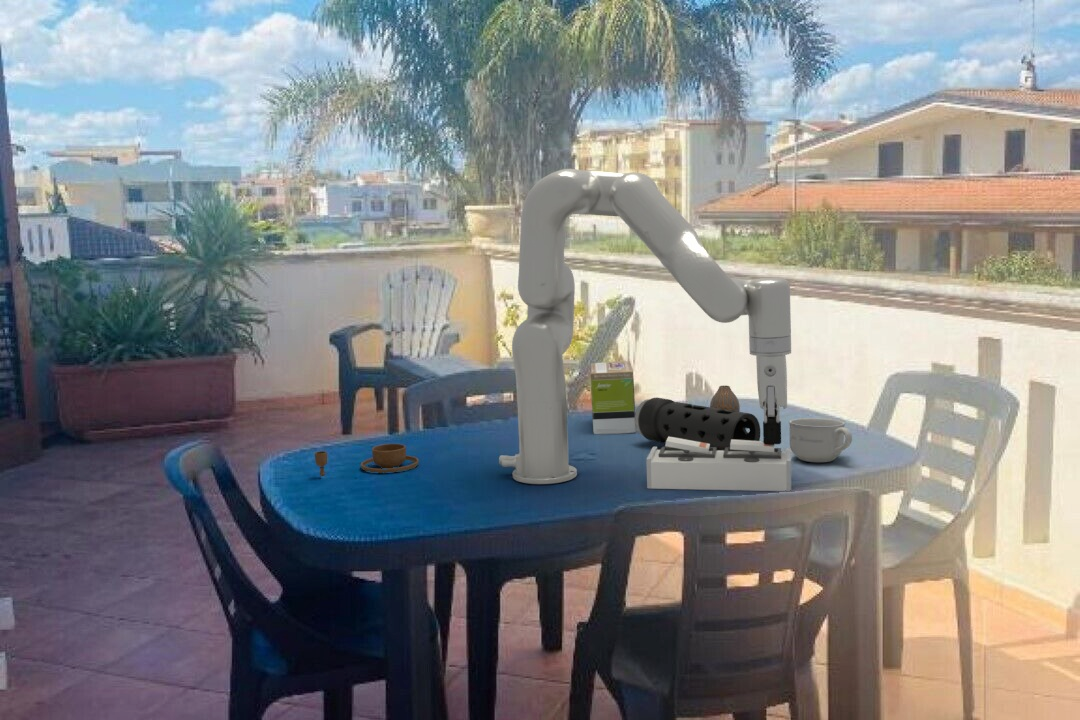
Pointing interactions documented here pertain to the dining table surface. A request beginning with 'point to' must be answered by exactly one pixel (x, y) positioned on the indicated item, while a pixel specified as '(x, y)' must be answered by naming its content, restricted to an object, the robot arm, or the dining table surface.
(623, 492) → the dining table surface
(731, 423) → the muzzle brake
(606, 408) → the tea box
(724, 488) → the white switch block
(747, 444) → the outlet rocker
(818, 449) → the teacup
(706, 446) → the outlet rocker
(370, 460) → the place setting
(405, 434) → the dining table surface
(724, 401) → the vase
